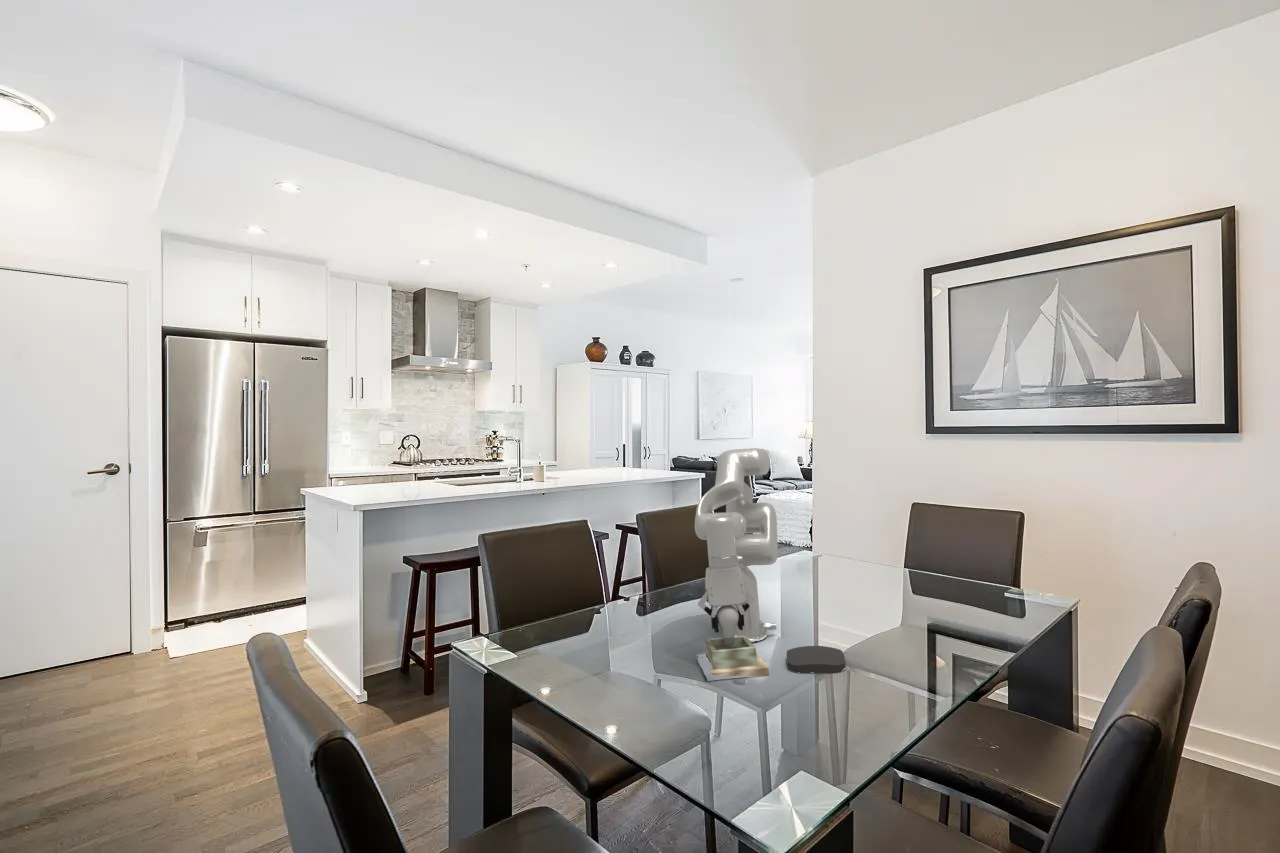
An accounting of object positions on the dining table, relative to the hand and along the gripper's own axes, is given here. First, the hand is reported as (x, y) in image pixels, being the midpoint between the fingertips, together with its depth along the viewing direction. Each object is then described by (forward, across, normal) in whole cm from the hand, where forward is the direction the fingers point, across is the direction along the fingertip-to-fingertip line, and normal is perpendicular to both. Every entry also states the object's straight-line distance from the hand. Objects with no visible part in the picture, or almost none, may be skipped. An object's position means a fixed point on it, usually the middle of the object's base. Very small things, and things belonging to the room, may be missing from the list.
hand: (728, 629), depth 166 cm
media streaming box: (+11, -22, +3) cm, 25 cm away
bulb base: (+10, 0, 0) cm, 10 cm away
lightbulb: (+5, 0, 0) cm, 5 cm away
